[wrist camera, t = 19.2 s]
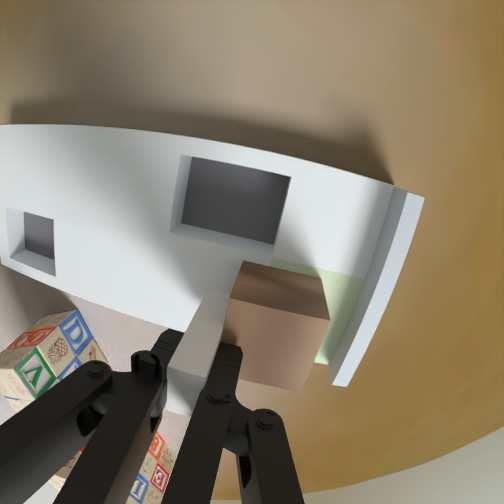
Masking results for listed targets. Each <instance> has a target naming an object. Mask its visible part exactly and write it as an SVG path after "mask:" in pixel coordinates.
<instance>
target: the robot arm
mask: <svg viewBox="0 0 504 504" xmlns="http://www.w3.org/2000/svg"><path fill="white" fill-rule="evenodd" d="M229 296H230V295H228V294H224V293H220V292H216V291H212V290H207V292H206V294H205V296H204V298H203V299H202V301H201V303H200V305H199V307H198V309H197V311H196V313H195V314H194V316H193V318H192V320H191V322H190V324H189V326H188V328H187V330H186V331H185V333H183V332H180V331H176V330H173V329H170V328H169V329H168V330H166V331H164V332H163V333H161V335H160V336H159V338H158V340H157V341H156V343H155V344H154V346H153V348H152V349H151V351H147V350H143V351H138V352H135V353H134V354H133V355H132V356H131V370H132V371H131V372H117V371H111V369H110V366H109V365H108V364H107V363H105V362H103V361H100V360H91V361H88V362H86V363H84V364H83V365H81V366H80V367H78V368H77V369H76V370H74V371H73V372H72V373H70V374H69V375H68V376H66V377H65V378H64V379H62V380H61V381H59V382H58V383H57V384H55V385H54V386H53V387H51V388H50V389H49V390H47V391H46V392H45V393H43V394H42V395H41V396H39V397H38V398H36V399H35V400H34V401H32V402H31V403H30V404H28V405H27V406H26V407H24V408H23V409H22V410H20V411H19V412H18V413H16V414H15V415H14V416H12V417H11V418H10V419H8V420H7V421H6V422H4V423H3V424H2V425H0V504H23V503H24V502H25V501H26V500H27V499H29V498H30V497H31V496H32V495H33V494H34V493H35V492H36V491H37V490H38V489H40V488H41V487H42V486H43V485H44V484H45V483H46V482H47V481H48V480H49V479H50V478H51V477H53V476H54V475H55V474H56V473H57V472H58V471H59V470H60V469H61V468H62V467H63V466H64V465H65V464H66V463H68V462H69V461H70V460H71V459H72V458H73V457H74V456H75V455H76V454H77V453H78V452H79V451H80V450H81V449H82V448H83V447H84V446H85V445H86V446H85V448H84V450H83V451H82V453H81V455H80V456H79V458H78V460H77V462H76V463H75V465H74V467H73V469H72V470H71V472H70V474H69V476H68V477H67V479H66V481H65V483H64V484H63V486H62V488H61V490H60V492H59V494H58V495H57V497H56V499H55V501H54V503H53V504H126V502H127V499H128V497H129V495H130V492H131V490H132V487H133V485H134V483H135V480H136V478H137V476H138V473H139V471H140V469H141V466H142V464H143V462H144V459H145V457H146V455H147V452H148V450H149V448H150V445H151V443H152V441H153V438H154V436H155V434H156V431H157V429H158V427H159V424H160V422H161V420H162V411H163V409H164V406H165V404H166V410H167V411H171V412H174V413H177V414H180V415H184V416H187V417H191V419H190V422H189V425H188V427H187V430H186V433H185V436H184V439H183V442H182V445H181V447H180V450H179V453H178V456H177V459H176V462H175V464H174V467H173V470H172V473H171V476H170V479H169V482H168V484H167V487H166V490H165V493H164V496H163V499H162V502H161V504H210V500H211V496H212V492H213V488H214V484H215V479H216V475H217V471H218V467H219V462H220V458H221V454H222V450H223V448H225V449H227V450H229V451H231V452H233V453H235V454H236V461H237V469H238V477H239V485H240V492H241V500H242V504H305V503H304V500H303V496H302V492H301V488H300V485H299V481H298V477H297V473H296V470H295V466H294V462H293V458H292V454H291V451H290V447H289V443H288V439H287V435H286V431H285V427H284V424H283V421H282V419H281V417H280V416H279V415H278V414H277V413H276V412H274V411H272V410H269V409H256V410H255V411H252V410H250V409H248V408H246V407H244V406H243V405H241V404H240V403H239V402H238V400H237V399H236V395H235V390H236V386H237V381H238V377H239V372H240V368H241V363H242V359H243V352H242V349H241V347H240V346H236V345H231V344H227V343H223V342H220V341H221V336H222V331H223V325H224V320H225V315H226V310H227V305H228V300H229Z"/></svg>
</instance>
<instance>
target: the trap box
mask: <svg viewBox="0 0 504 504" xmlns="http://www.w3.org/2000/svg"><path fill="white" fill-rule="evenodd" d="M424 199H425V198H423V197H421V196H419V195H416V194H414V193H412V192H409V191H407V190H404V189H402V188H399V187H397V186H394V185H391V184H388V183H385V182H382V181H379V180H376V179H373V178H369V177H366V176H363V175H360V174H356V173H353V172H349V171H346V170H342V169H339V168H335V167H332V166H328V165H324V164H321V163H317V162H313V161H309V160H305V159H301V158H297V157H293V156H289V155H284V154H280V153H276V152H271V151H267V150H262V149H257V148H252V147H247V146H242V145H237V144H232V143H227V142H221V141H215V140H210V139H204V138H197V137H191V136H184V135H177V134H170V133H162V132H154V131H146V130H137V129H127V128H116V127H103V126H88V125H67V124H9V125H0V257H1V264H2V265H4V266H6V267H9V268H11V269H13V270H15V271H17V272H19V273H22V274H24V275H26V276H28V277H31V278H33V279H35V280H38V281H40V282H42V283H45V284H47V285H49V286H52V287H54V288H57V289H59V290H62V291H64V292H67V293H69V294H72V295H74V296H77V297H80V298H82V299H85V300H88V301H90V302H93V303H96V304H99V305H101V306H104V307H107V308H110V309H113V310H116V311H118V312H121V313H124V314H127V315H130V316H133V317H136V318H139V319H143V320H146V321H149V322H152V323H155V324H159V325H162V326H165V327H169V328H172V329H175V330H179V331H182V332H185V331H186V330H187V328H188V326H189V324H190V322H191V320H192V318H193V316H194V314H195V313H196V311H197V309H198V307H199V305H200V303H201V301H202V299H203V298H204V296H205V294H206V292H207V290H212V291H216V292H220V293H224V294H228V295H230V294H231V291H232V288H233V286H234V283H235V281H236V278H237V275H238V273H239V270H240V267H241V265H242V262H243V260H245V261H249V262H253V263H257V264H262V265H266V266H270V267H274V268H279V269H283V270H287V271H291V272H296V273H300V274H304V275H309V276H313V277H317V278H321V280H322V284H323V288H324V293H325V297H326V302H327V306H328V311H329V315H330V320H331V321H330V324H329V326H328V329H327V331H326V334H325V336H324V339H323V341H322V344H321V346H320V349H319V351H318V353H317V356H316V358H315V360H314V362H317V363H322V364H328V365H329V367H330V374H331V382H332V385H337V386H345V387H347V385H348V383H349V381H350V380H351V378H352V376H353V374H354V372H355V370H356V368H357V366H358V365H359V363H360V361H361V359H362V357H363V355H364V353H365V351H366V349H367V347H368V345H369V343H370V341H371V338H372V336H373V334H374V332H375V330H376V328H377V326H378V323H379V321H380V319H381V317H382V315H383V312H384V310H385V308H386V305H387V303H388V301H389V298H390V296H391V294H392V291H393V289H394V286H395V284H396V281H397V279H398V276H399V273H400V271H401V268H402V266H403V263H404V260H405V257H406V255H407V252H408V249H409V246H410V243H411V240H412V237H413V234H414V231H415V228H416V225H417V222H418V219H419V216H420V212H421V209H422V206H423V202H424Z"/></svg>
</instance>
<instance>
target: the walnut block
mask: <svg viewBox="0 0 504 504" xmlns="http://www.w3.org/2000/svg"><path fill="white" fill-rule="evenodd" d="M330 321H331V320H330V315H329V311H328V306H327V302H326V297H325V293H324V288H323V284H322V280H321V278H317V277H313V276H309V275H304V274H300V273H296V272H291V271H287V270H283V269H279V268H274V267H270V266H266V265H262V264H257V263H253V262H249V261H245V260H243V262H242V265H241V267H240V270H239V273H238V275H237V278H236V281H235V283H234V286H233V288H232V291H231V294H230V296H229V300H228V305H227V310H226V315H225V320H224V325H223V331H222V336H221V341H220V342H223V343H227V344H231V345H236V346H240V347H241V349H242V352H243V359H242V363H241V368H240V372H239V377H238V379H241V380H246V381H250V382H255V383H259V384H264V385H269V386H274V387H280V388H285V389H290V390H296V391H301V390H302V388H303V385H304V383H305V381H306V379H307V376H308V374H309V372H310V370H311V367H312V365H313V363H314V360H315V358H316V356H317V353H318V351H319V349H320V346H321V344H322V341H323V339H324V336H325V334H326V331H327V329H328V326H329V324H330Z"/></svg>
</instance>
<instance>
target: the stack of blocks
mask: <svg viewBox="0 0 504 504" xmlns="http://www.w3.org/2000/svg"><path fill="white" fill-rule="evenodd" d="M91 360H100V361H103V362H105V363H107V364H108V362H107V360H106V359H105V357H104V355H103V354H102V352H101V350H100V349H99V347H98V345H97V344H96V342H95V340H94V339H93V337H92V335H91V333H90V331H89V329H88V327H87V325H86V324H85V322H84V320H83V318H82V317H81V314H80V312H79V311H78V309H76V310H72V311H68V312H63V313H59V314H52V315H48V316H44V317H42V318H40V319H39V320H38V321H37V322H35V323H34V324H33V325H32V326H31V327H30V328H29V329H28V330H27V331H26V332H24V333H22V334H21V335H20V336H19V337H18V338H17V339H16V340H15V341H14V342H13V343H11V344H10V345H9V347H8V348H7V349H6V350H3V351H2V352H1V353H0V391H1V393H2V394H3V395H4V396H5V399H6V400H7V401H8V403H9V404H10V405H11V406H12V408H13V409H14V410H15V411H16V413H18V412H19V411H20V410H22V409H23V408H24V407H26V406H27V405H28V404H30V403H31V402H32V401H34V400H35V399H36V398H38V397H39V396H41V395H42V394H43V393H45V392H46V391H47V390H49V389H50V388H51V387H53V386H54V385H55V384H57V383H58V382H59V381H61V380H62V379H64V378H65V377H66V376H68V375H69V374H70V373H72V372H73V371H74V370H76V369H77V368H78V367H80V366H81V365H83V364H84V363H86V362H88V361H91ZM110 369H111V368H110ZM111 371H112V369H111ZM85 446H86V445H85ZM85 446H84V447H83V448H82V449H81V450H80V451H79V452H78V453H77V454H76V455H75V456H74V457H73V458H72V459H71V460H70V461H69V462H68V463H66V464H65V465H64V466H63V467H62V468H61V469H60V470H59V471H58V472H57V473H56V474H55V475H54V476H53V477H51V478H50V479H49V480H48V482H49V483H51V484H52V485H53V486H54V487H55V488H56V489H57V490H59V491H60V490H61V488H62V486H63V484H64V483H65V481H66V479H67V477H68V476H69V474H70V472H71V470H72V469H73V467H74V465H75V463H76V462H77V460H78V458H79V456H80V455H81V453H82V451H83V450H84V448H85ZM175 458H176V455H175V454H174V453H173V452H172V450H171V449H170V448H169V447H168V445H167V444H166V443H165V441H164V440H163V439H162V437H161V436H160V435H159V434H158V432H157V431H156V434H155V436H154V438H153V441H152V443H151V445H150V448H149V450H148V452H147V455H146V457H145V459H144V462H143V464H142V466H141V469H140V471H139V473H138V476H137V478H136V480H135V483H134V485H133V487H132V490H131V492H130V495H129V497H128V499H127V502H126V504H160V503H161V501H162V498H163V493H164V490H165V487H166V484H167V481H168V478H169V474H170V473H171V470H172V468H173V464H174V461H175Z"/></svg>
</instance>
